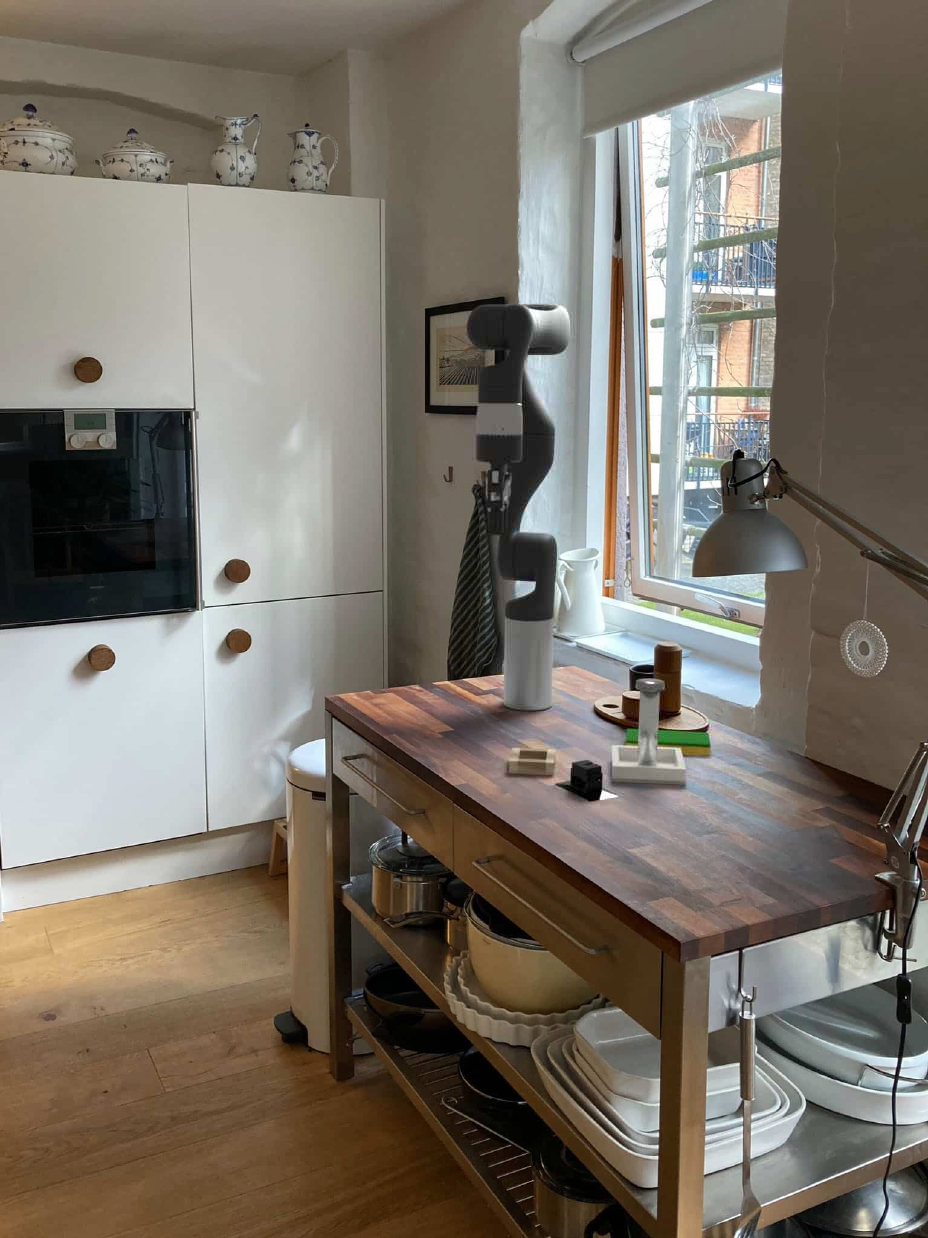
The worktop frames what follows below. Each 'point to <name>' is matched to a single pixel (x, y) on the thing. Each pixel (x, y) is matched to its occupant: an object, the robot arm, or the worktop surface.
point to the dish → (664, 773)
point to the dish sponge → (676, 741)
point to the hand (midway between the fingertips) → (498, 532)
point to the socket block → (532, 761)
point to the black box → (586, 782)
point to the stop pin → (648, 720)
